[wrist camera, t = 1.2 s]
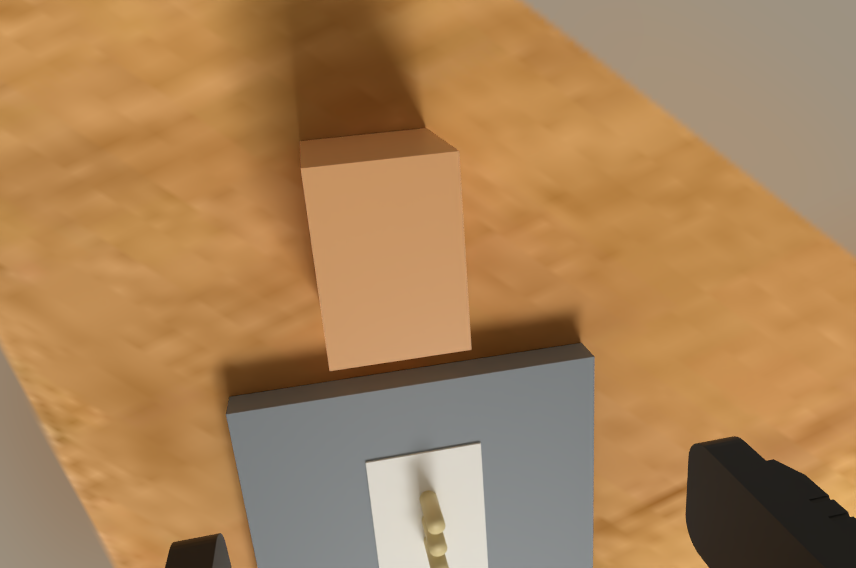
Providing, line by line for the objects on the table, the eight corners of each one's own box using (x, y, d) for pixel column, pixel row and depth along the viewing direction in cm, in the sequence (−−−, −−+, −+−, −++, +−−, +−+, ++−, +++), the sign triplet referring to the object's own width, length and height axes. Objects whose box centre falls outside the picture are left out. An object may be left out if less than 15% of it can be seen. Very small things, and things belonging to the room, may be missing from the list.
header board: (581, 342, 32) (614, 378, 29) (581, 579, 37) (609, 633, 34) (229, 396, 30) (220, 442, 26) (278, 641, 35) (276, 705, 31)
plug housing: (426, 127, 27) (459, 151, 22) (438, 291, 30) (471, 349, 24) (299, 141, 27) (300, 168, 21) (323, 307, 29) (329, 371, 24)
